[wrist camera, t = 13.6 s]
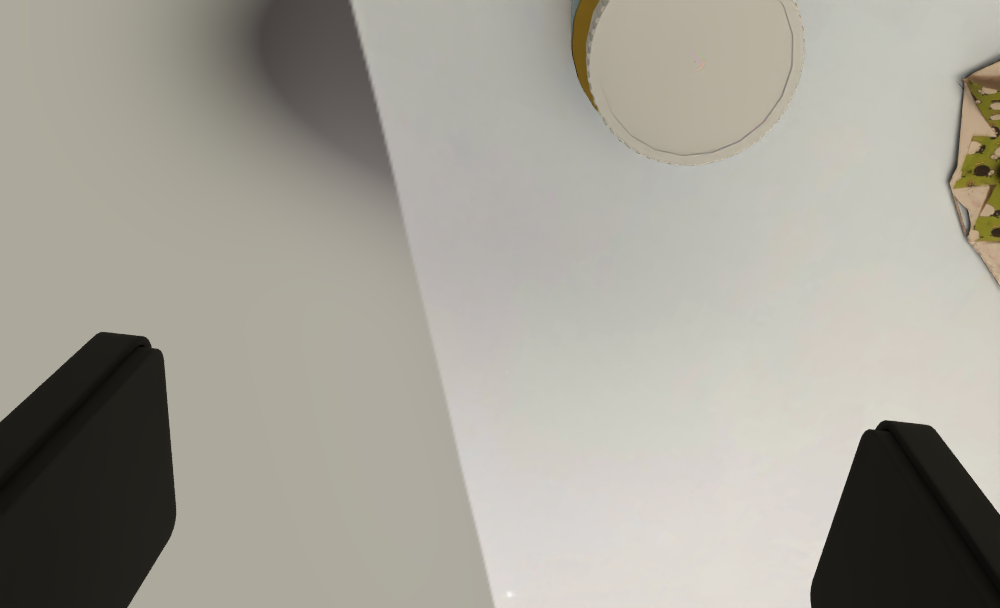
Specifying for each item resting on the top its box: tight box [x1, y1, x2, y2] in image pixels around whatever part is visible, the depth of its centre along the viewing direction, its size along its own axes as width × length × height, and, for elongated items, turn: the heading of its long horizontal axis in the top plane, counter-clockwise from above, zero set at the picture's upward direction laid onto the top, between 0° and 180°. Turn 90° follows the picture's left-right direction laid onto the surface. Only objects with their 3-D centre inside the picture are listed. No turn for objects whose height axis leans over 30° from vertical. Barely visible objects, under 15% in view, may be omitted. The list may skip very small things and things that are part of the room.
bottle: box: [571, 0, 804, 165], centre depth 31 cm, size 7×7×15 cm
